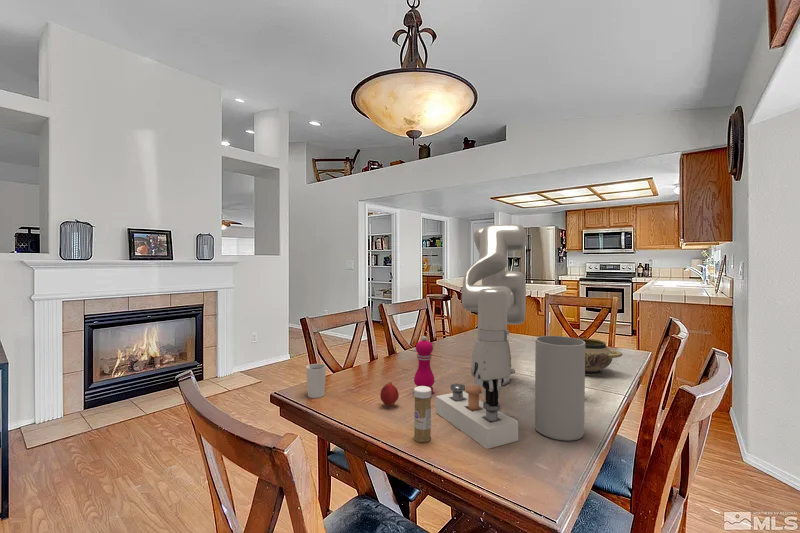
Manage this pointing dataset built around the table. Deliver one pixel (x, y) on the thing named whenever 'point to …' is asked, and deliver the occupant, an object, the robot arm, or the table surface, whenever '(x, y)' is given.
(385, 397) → the onion
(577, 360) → the cylinder vase
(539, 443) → the table surface
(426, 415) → the sprinkles bottle
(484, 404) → the grey plug
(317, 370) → the drinking glass
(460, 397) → the grey plug
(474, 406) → the rust plug
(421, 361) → the pepper mill
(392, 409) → the table surface
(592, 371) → the ceramic bowl
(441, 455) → the table surface
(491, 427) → the block
